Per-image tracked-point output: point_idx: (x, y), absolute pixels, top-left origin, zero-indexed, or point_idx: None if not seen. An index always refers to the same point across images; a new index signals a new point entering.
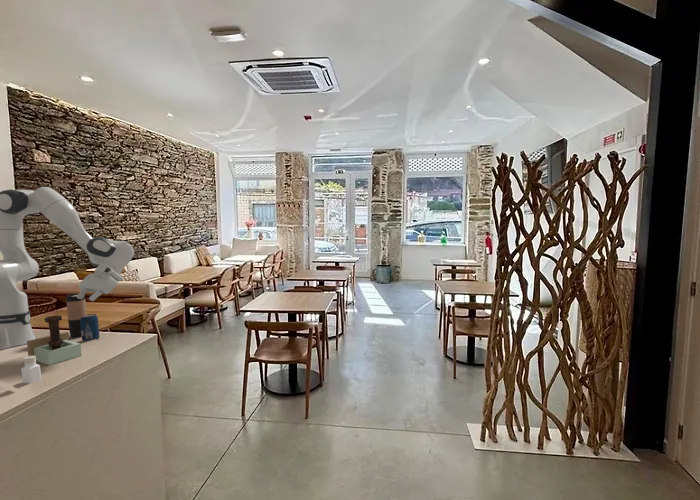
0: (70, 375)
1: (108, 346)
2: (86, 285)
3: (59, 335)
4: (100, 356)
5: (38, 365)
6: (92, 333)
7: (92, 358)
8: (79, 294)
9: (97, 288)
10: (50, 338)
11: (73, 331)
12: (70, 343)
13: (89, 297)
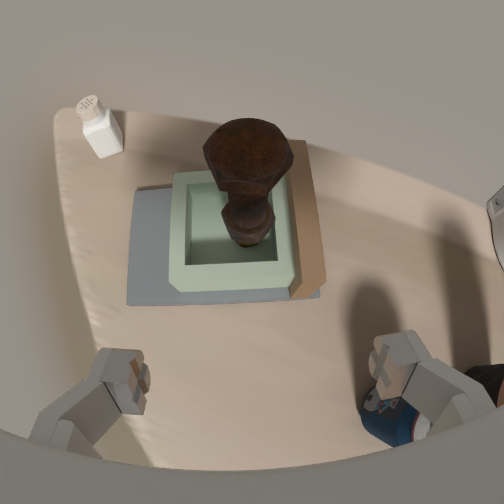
0: (75, 211)
1: (238, 416)
2: (430, 468)
3: (235, 216)
4: (142, 337)
5: (85, 132)
6: (370, 412)
7: (147, 312)
8: (411, 354)
9: (17, 441)
10: (292, 209)
11: (478, 373)
12: (218, 264)
13: (132, 359)
